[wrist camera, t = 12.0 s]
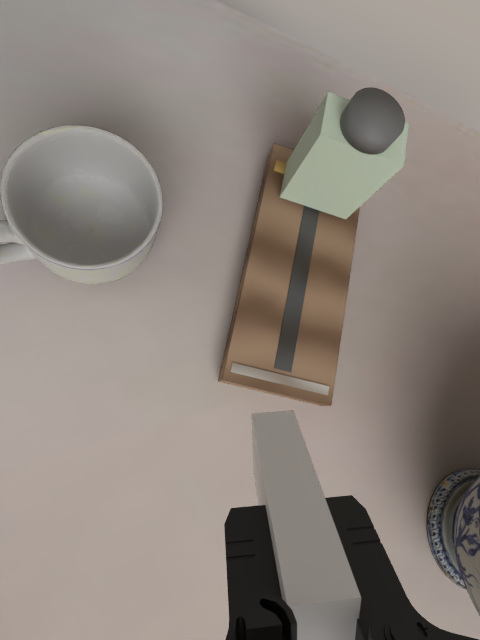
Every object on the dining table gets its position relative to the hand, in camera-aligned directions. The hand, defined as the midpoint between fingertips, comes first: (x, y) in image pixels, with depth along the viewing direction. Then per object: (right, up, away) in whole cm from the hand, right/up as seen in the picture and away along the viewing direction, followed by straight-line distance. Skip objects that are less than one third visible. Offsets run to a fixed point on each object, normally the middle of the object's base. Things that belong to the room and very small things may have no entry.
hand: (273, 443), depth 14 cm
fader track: (+4, +9, +24) cm, 26 cm away
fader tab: (+6, +17, +24) cm, 30 cm away
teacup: (-15, +11, +20) cm, 28 cm away
